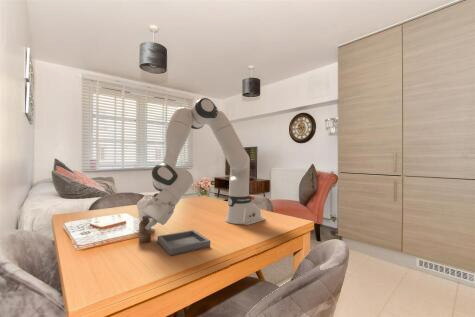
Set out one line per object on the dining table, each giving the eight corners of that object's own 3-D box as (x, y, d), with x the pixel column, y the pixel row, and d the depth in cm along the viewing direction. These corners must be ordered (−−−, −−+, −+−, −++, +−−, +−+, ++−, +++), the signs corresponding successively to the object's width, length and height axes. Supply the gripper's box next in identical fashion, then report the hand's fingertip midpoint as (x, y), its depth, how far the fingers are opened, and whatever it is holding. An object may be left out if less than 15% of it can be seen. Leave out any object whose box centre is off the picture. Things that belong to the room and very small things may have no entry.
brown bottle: (149, 238, 103) (149, 213, 102) (152, 241, 99) (152, 215, 99) (137, 240, 100) (138, 214, 100) (140, 243, 96) (140, 217, 96)
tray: (193, 235, 107) (193, 229, 107) (210, 246, 94) (210, 240, 94) (157, 242, 98) (157, 236, 98) (170, 256, 85) (170, 249, 85)
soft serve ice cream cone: (148, 229, 114) (148, 196, 114) (132, 228, 115) (132, 195, 115) (157, 224, 122) (157, 193, 122) (142, 223, 124) (143, 192, 123)
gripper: (181, 209, 99) (158, 238, 92) (162, 201, 114) (140, 225, 108) (171, 200, 96) (146, 229, 89) (152, 193, 111) (130, 217, 105)
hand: (143, 227), depth 99 cm, fingers closed on brown bottle, 5 cm apart
